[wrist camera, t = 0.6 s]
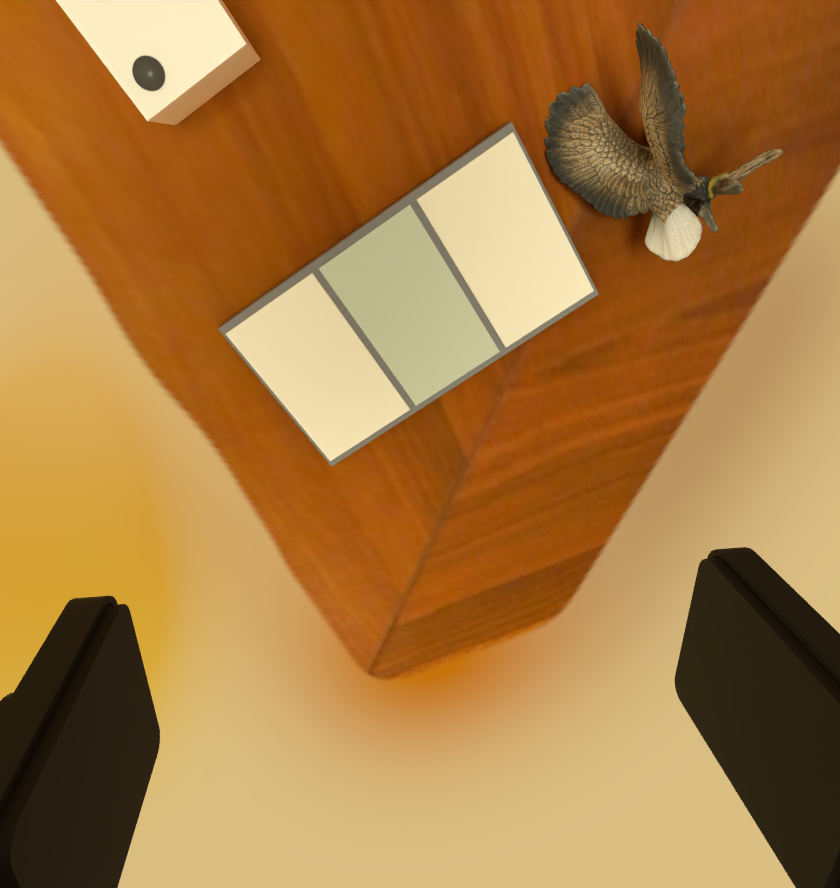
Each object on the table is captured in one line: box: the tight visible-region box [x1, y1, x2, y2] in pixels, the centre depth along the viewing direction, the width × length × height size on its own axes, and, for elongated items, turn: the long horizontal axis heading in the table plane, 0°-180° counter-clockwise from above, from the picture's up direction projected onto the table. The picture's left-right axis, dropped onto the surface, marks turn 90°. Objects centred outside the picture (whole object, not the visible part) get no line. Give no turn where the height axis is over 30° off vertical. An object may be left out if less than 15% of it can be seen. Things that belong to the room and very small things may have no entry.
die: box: [56, 0, 261, 125], centre depth 26 cm, size 5×5×5 cm
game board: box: [218, 122, 599, 466], centre depth 34 cm, size 18×10×1 cm, turn 123°
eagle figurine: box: [544, 23, 783, 261], centre depth 30 cm, size 8×7×9 cm
